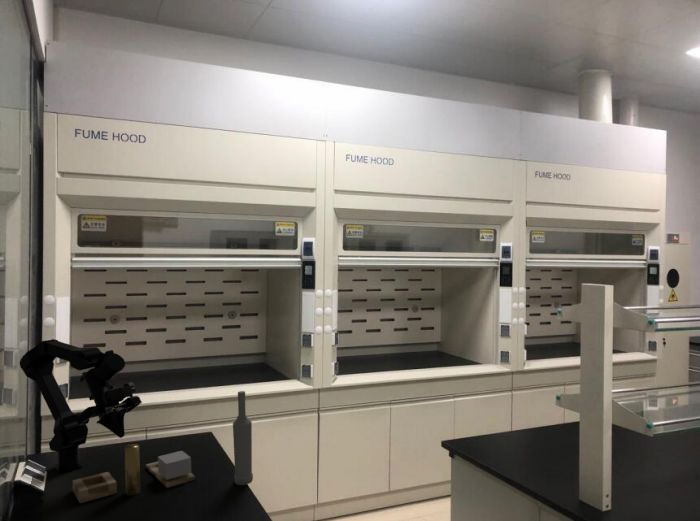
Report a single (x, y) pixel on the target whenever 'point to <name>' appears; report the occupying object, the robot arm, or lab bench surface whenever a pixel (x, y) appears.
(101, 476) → the socket block
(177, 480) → the plate
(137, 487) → the brass pin
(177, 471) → the cover
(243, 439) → the bottle
